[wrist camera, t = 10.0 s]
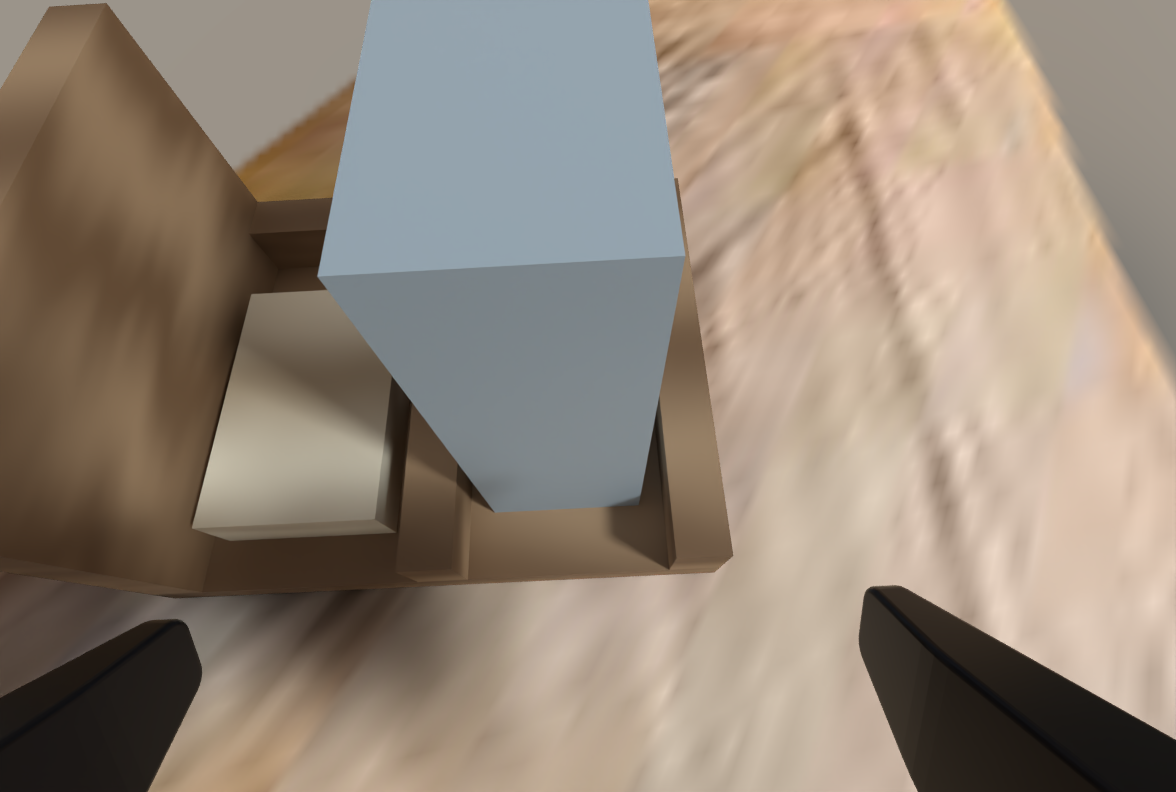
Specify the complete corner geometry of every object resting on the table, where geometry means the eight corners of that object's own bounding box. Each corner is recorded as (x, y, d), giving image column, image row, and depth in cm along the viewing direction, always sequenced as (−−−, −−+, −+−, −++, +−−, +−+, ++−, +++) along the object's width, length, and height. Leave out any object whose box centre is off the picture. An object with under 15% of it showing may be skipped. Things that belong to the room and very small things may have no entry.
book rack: (714, 572, 18) (822, 477, 9) (175, 598, 18) (-262, 531, 9) (669, 234, 24) (707, -34, 15) (261, 256, 24) (49, 6, 15)
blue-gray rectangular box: (638, 505, 18) (685, 255, 7) (494, 512, 18) (317, 275, 7) (624, 339, 20) (643, -33, 9) (499, 346, 20) (374, -16, 10)
